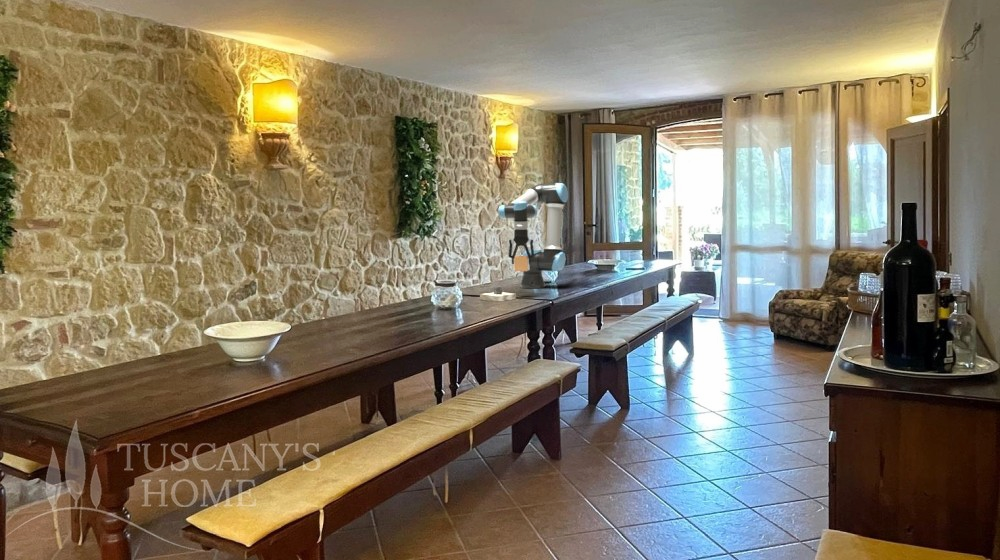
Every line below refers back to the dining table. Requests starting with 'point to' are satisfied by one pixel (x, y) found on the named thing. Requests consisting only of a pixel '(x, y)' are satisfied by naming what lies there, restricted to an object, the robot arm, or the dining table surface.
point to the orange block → (521, 263)
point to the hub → (498, 295)
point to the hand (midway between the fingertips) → (521, 269)
